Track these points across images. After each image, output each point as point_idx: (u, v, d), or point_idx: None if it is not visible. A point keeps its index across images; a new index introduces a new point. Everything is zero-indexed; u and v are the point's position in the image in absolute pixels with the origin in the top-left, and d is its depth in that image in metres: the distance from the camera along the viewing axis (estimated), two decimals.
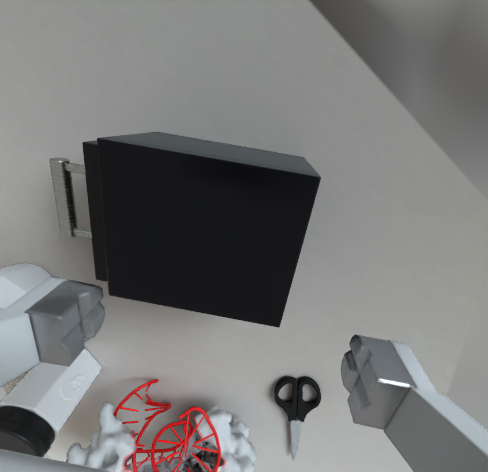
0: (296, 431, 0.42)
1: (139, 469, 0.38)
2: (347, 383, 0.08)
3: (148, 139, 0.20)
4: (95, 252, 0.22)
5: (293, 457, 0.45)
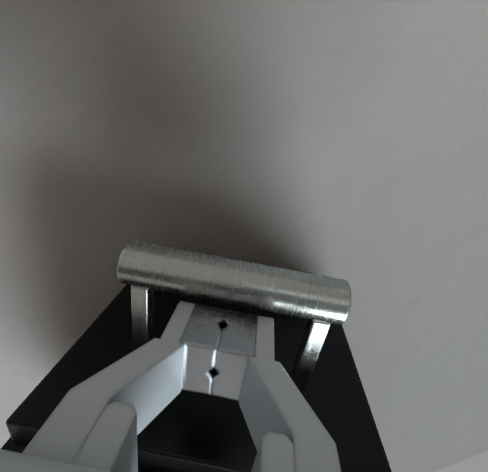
0: None
1: None
2: None
3: None
4: None
5: None
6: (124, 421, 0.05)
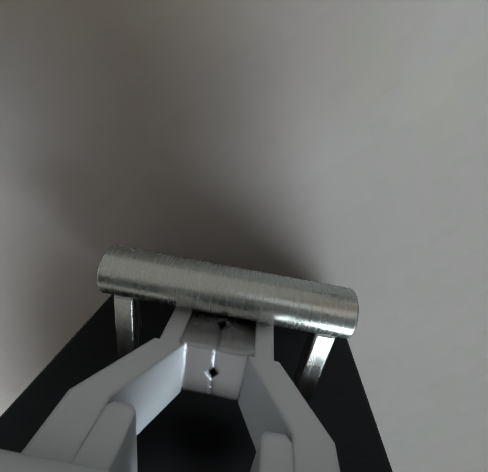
0: None
1: None
2: None
3: None
4: None
5: None
6: (123, 421, 0.05)
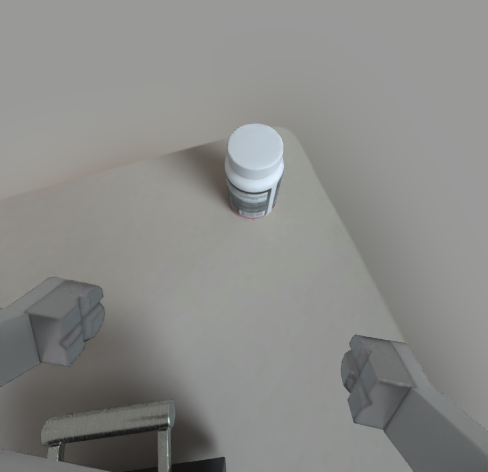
0: None
1: None
2: (347, 383, 0.08)
3: None
4: None
5: None
6: None
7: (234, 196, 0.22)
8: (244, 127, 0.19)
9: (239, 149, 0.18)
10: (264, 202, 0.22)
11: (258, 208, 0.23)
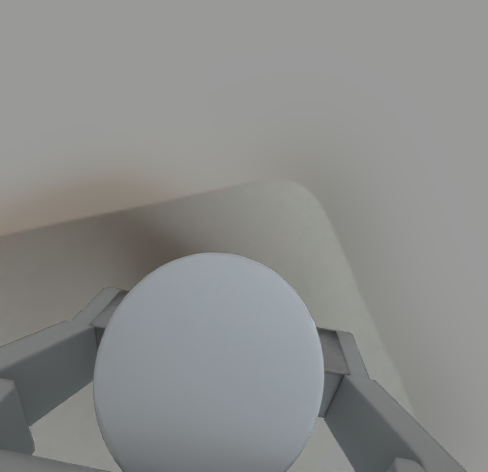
0: None
1: None
2: None
3: None
4: None
5: None
6: None
7: None
8: (179, 269, 0.05)
9: (143, 384, 0.04)
10: None
11: None
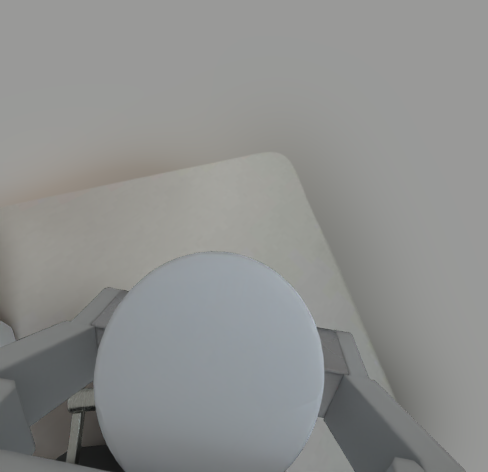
0: None
1: None
2: None
3: None
4: None
5: None
6: (0, 396, 0.05)
7: None
8: (180, 268, 0.05)
9: (143, 384, 0.04)
10: None
11: None
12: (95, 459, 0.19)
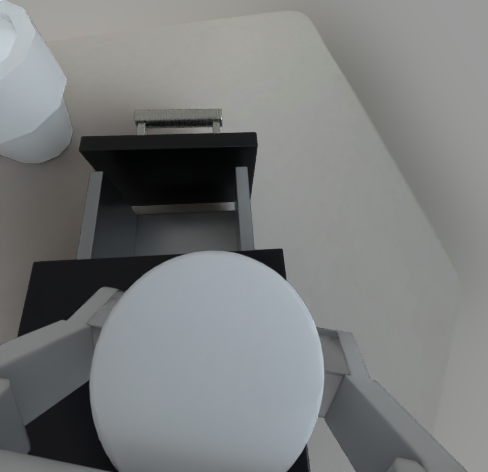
0: None
1: None
2: None
3: None
4: (124, 137, 0.17)
5: None
6: None
7: None
8: (178, 268, 0.05)
9: (140, 384, 0.04)
10: None
11: None
12: None
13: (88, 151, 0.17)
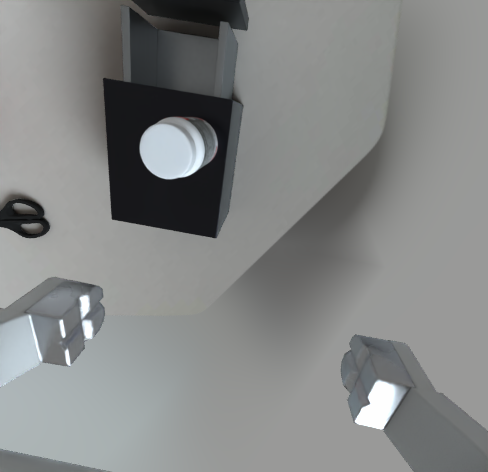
0: None
1: None
2: (347, 383, 0.08)
3: (234, 121, 0.29)
4: None
5: None
6: None
7: None
8: (158, 127, 0.19)
9: (150, 153, 0.19)
10: None
11: None
12: None
13: None
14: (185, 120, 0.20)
